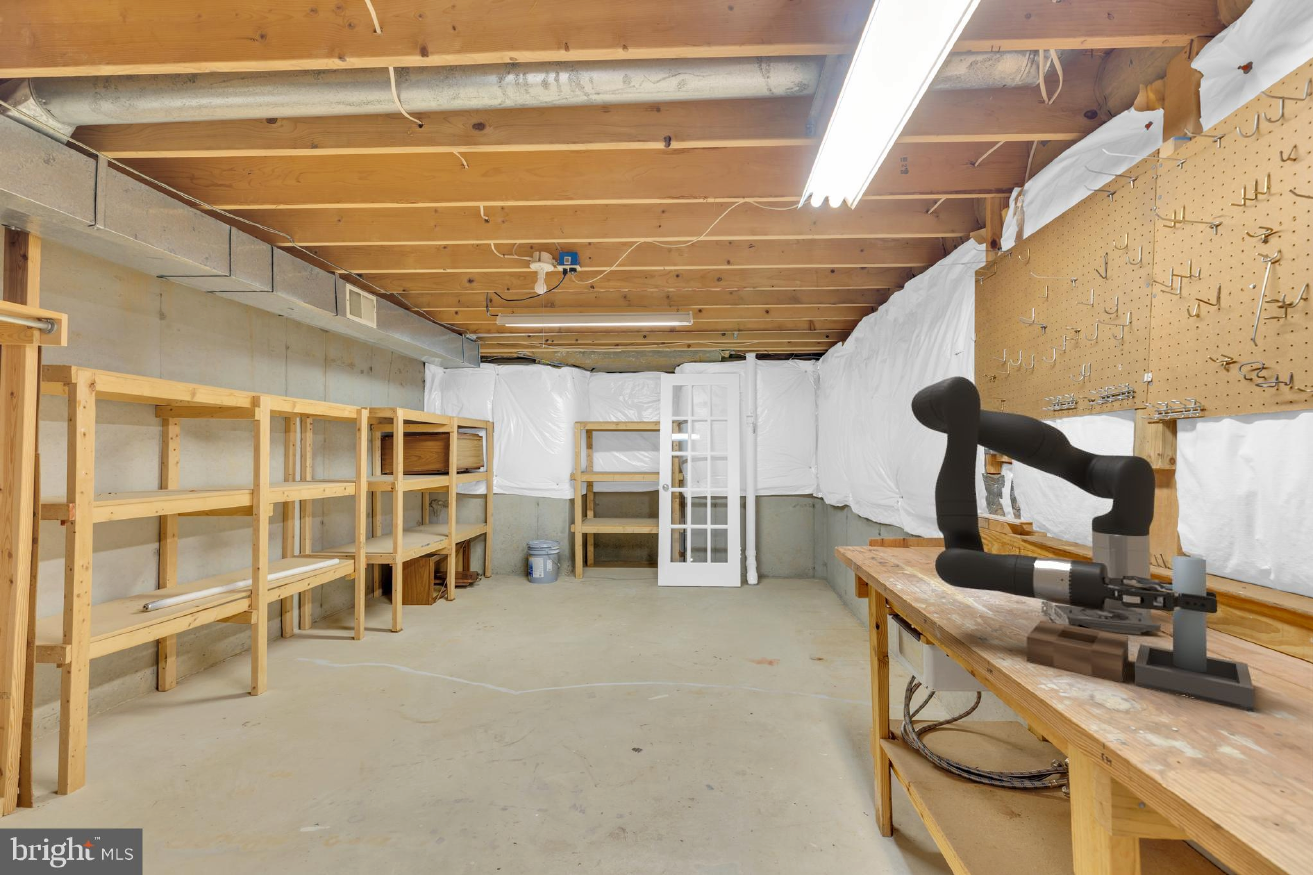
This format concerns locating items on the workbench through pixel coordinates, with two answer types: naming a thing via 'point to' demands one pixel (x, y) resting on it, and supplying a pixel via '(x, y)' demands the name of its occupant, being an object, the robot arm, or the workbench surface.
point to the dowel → (1189, 615)
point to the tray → (1196, 678)
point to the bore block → (1079, 650)
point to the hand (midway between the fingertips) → (1215, 602)
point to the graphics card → (1100, 619)
